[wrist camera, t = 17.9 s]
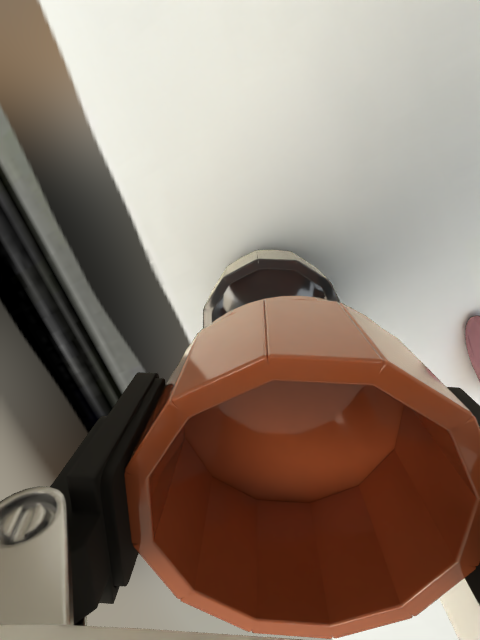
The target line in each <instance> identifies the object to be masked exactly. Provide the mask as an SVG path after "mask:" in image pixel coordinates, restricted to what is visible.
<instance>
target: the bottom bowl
mask: <svg viewBox="0 0 480 640" xmlns="http://www.w3.org/2000/svg"><path fill="white" fill-rule="evenodd" d="M280 296H307V297H317V298H322V299H326V300H330V301H337V302H339V303H340V301H339V299H338V297H337V294H336V292H335V290H334V288H333V286H332V284H331V282H330V281H329V280H328V279H327V278H326V277H325V276H324V275H323V274H322V273H321V271H320V270H319V269H318V268H316V267H315V266H313V265H312V264H310V263H308V262H307V261H306V260H304V259H303V258H301V257H299V256H298V255H296V254H294V253H293V252H290V251H282V250H274V249H272V250H255V251H254V252H252V253H249V254H247V255H245V256H243V257H241V258H239V259H238V260H236V261H235V262H233V263H231V264H229V265H228V266H227V267H226V269H225V270H224V272H223V274H222V275H221V277H220V278H219V280H218V282H217V283H216V285H215V287H214V288H213V290H212V292H211V294H210V296H209V298H208V300H207V302H206V304H205V306H204V309H203V329H204V328H206V327H207V326H209V325H210V324H211V323H212V322H214V321H215V320H216V319H218V318H219V317H221V316H223V315H224V314H226V313H228V312H230V311H231V310H233V309H236V308H238V307H241V306H243V305H245V304H248V303H251V302H255V301H258V300H262V299H266V298H273V297H280Z"/></svg>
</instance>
